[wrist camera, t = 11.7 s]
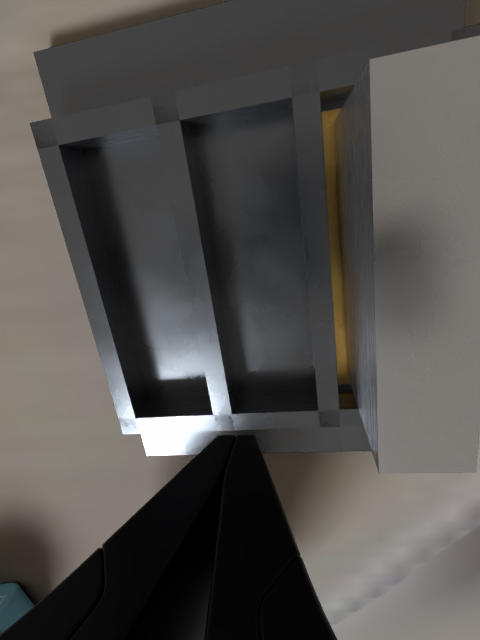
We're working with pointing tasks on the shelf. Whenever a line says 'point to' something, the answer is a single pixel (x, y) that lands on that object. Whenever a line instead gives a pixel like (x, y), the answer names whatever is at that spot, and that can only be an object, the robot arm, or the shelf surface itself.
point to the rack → (219, 210)
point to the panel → (413, 255)
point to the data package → (12, 604)
